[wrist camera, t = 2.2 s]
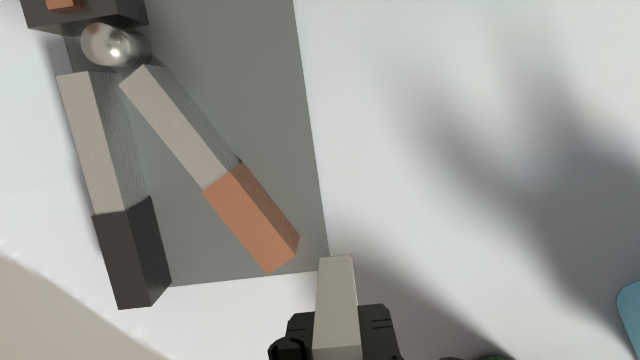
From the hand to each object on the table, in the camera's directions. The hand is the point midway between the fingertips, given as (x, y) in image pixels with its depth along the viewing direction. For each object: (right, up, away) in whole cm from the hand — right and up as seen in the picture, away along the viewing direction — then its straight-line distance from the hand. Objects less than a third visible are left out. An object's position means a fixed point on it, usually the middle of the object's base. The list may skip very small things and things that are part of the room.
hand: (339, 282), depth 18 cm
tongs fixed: (-17, +8, +15) cm, 24 cm away
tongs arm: (-10, +8, +15) cm, 19 cm away
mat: (-11, +9, +15) cm, 21 cm away
